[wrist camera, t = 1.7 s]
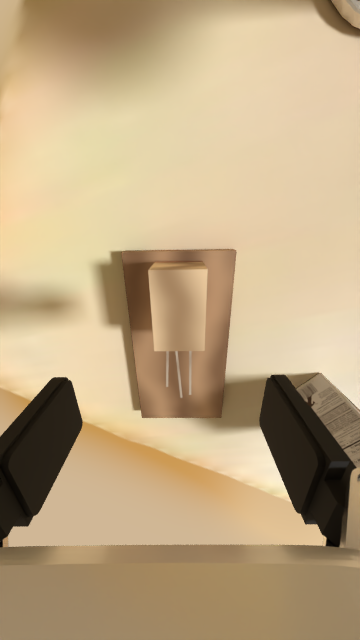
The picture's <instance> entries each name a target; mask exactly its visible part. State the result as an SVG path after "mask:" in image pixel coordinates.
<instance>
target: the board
mask: <svg viewBox="0 0 360 640" xmlns="http://www.w3.org/2000/svg"><path fill="white" fill-rule="evenodd" d="M121 254H122V262H123V270H124V278H125V286H126V294H127V302H128V310H129V318H130V326H131V334H132V342H133V350H134V358H135V366H136V374H137V382H138V390H139V398H140V406H141V414H142V418H221V414H222V403H223V392H224V381H225V370H226V359H227V348H228V338H229V327H230V316H231V305H232V294H233V283H234V272H235V261H236V250H234V249H216V250H149V251H123V252H121ZM162 261H203V263H204V264H205V266H206V267H207V269H208V274H207V300H206V325H205V351H154V341H153V327H152V314H151V301H150V288H149V275H148V270H149V268H150V267H151V266H152V265H153V264H154V263H155V262H162Z"/></svg>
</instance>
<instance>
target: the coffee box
mask: <svg viewBox="0 0 360 640" xmlns="http://www.w3.org/2000/svg"><path fill="white" fill-rule="evenodd" d="M296 390H297V391H298V393H299V394H300V395H301V397H302V398H303V399H304V401H305V402H306V403H307V404H308V405H309V406H310V407H311V408H312V409H313V410H314V412H315V413H316V414H317V416H318V417H319V418H320V420H321V421H322V422H323V424H324V425H325V426H326V427H327V429H328V430H329V431H330V433H331V434H332V435H333V437H334V438H335V439H336V441H337V442H338V443H339V445H340V446H341V447H342V449H343V450H344V451H345V453H346V454H347V455H348V457H349V458H350V459H351V461H352V462H353V463H354V465H355V466H356V467H357V468H360V410H359V409H358V408H357V407H356V406H355V405H354V404H353V403H352V402H351V401H350V400H349V399H348V398H347V397H346V396H345V395H344V394H342V393H341V392H340V391H339V390H338V389H337V388H336V387H335V386H334V385H333V384H332V383H331V382H330V381H329V380H328V379H327V378H326V377H325V376H324V375H323V374H322V373H319V374H317V375H316V376H315V377H313V378H312V379H310V380H309V381H307V382H306V383H304V384H303V385H301V386H300V387H298V388H297V389H296Z"/></svg>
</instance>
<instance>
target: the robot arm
mask: <svg viewBox="0 0 360 640" xmlns="http://www.w3.org/2000/svg"><path fill="white" fill-rule="evenodd" d="M331 1H332V3H333V4H334V6H335V7H336V9H337V10H338V12H339V13H340V15H341V16H342V17H343V18H345V19H346V20H347V21H348V22H349V23H350V24H351V25H353V26H354V27H356V28H359V29H360V0H331ZM259 421H260V427H261V429H262V432H263V434H264V437H265V439H266V441H267V444H268V446H269V449H270V451H271V453H272V456H273V458H274V461H275V463H276V465H277V468H278V470H279V473H280V475H281V477H282V480H283V482H284V485H285V487H286V489H287V492H288V494H289V497H290V499H291V502H292V504H293V506H294V508H295V510H296V512H297V513H300V514H301V515H302V518H303V520H304V522H305V524H317V525H318V527H319V529H320V531H321V533H322V535H324V538H323V544H322V546H308V545H307V546H306V545H99V546H98V545H97V546H28V547H27V546H26V547H8V534H9V533H10V531H11V529H12V527H13V526H29V524H30V522H31V520H32V518H33V516H35V515H37V514H38V513H39V511H40V509H41V508H42V505H43V504H44V502H45V500H46V498H47V496H48V494H49V492H50V490H51V488H52V486H53V483H54V482H55V480H56V478H57V476H58V474H59V472H60V470H61V468H62V466H63V464H64V462H65V460H66V458H67V456H68V454H69V452H70V450H71V448H72V446H73V444H74V442H75V440H76V438H77V436H78V434H79V433H80V431H81V428H82V418H81V414H80V410H79V407H78V403H77V399H76V396H75V392H74V388H73V385H72V382H71V381H70V380H68V378H66V377H54V378H52V379H51V380H50V381H49V382H48V383H47V384H46V386H45V387H44V388H43V389H42V390H41V391H40V392H39V394H38V395H37V396H36V397H35V398H34V399H33V400H32V401H31V403H30V404H29V405H28V406H27V407H26V408H25V409H24V410H23V412H22V413H21V414H20V415H19V416H18V417H17V418H16V419H15V421H14V422H13V423H12V424H11V425H10V426H9V428H8V429H7V430H6V431H5V432H4V433H3V434H2V435H1V437H0V640H360V468H357V467H356V466H355V465H354V463H353V462H352V461H351V459H350V458H349V457H348V455H347V454H346V453H345V451H344V450H343V449H342V447H341V446H340V445H339V443H338V442H337V441H336V439H335V438H334V437H333V435H332V434H331V433H330V431H329V430H328V429H327V427H326V426H325V425H324V424H323V422H322V421H321V420H320V418H319V417H318V416H317V414H316V413H315V412H314V410H313V409H312V408H311V407H310V406H309V405H308V404H307V403H306V402H305V401H304V399H303V398H302V397H301V395H300V394H299V393H298V391H297V390H296V389H295V387H294V386H293V385H292V383H291V382H290V381H289V379H288V378H287V377H286V376H285V375H271V377H270V378H268V379H267V381H266V387H265V392H264V397H263V403H262V408H261V414H260V420H259Z"/></svg>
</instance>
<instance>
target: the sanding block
mask: <svg viewBox="0 0 360 640" xmlns="http://www.w3.org/2000/svg"><path fill="white" fill-rule="evenodd" d="M207 274H208V269H207V267H206V266H205V264H204V263H203V261H162V262H155V263H154V264H153V265H152V266H151V267H150V268H149V270H148V275H149V288H150V301H151V314H152V327H153V341H154V351H205V325H206V300H207Z"/></svg>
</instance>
